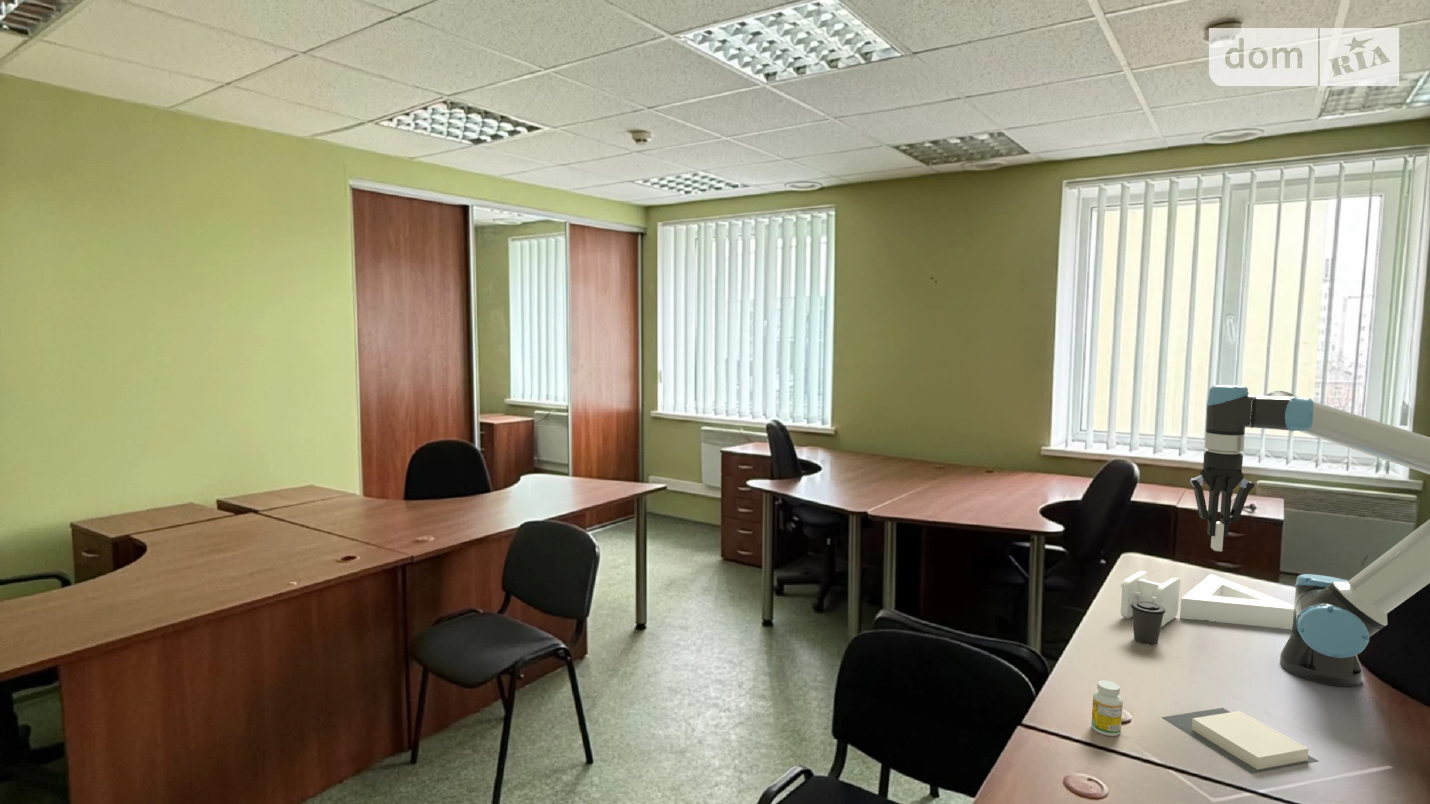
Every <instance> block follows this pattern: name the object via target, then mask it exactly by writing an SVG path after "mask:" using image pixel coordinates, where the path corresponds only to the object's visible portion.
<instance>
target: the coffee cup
mask: <svg viewBox="0 0 1430 804" xmlns="http://www.w3.org/2000/svg"><path fill="white" fill-rule="evenodd" d="M1130 606H1131V608H1132V614H1133V616H1132V625H1133V626H1132V627H1133V640H1135V642H1137V641H1138V642H1137V643H1139V642H1140V643H1139V644H1142V645H1146V644H1149V645H1148V646H1155V645H1154V644H1156V645H1158V644H1159V642H1158V641H1159V637H1160V633H1161V629H1162V627H1161V624H1162V619H1163V614H1164V613H1166V610H1165V608H1164V607H1163V606H1161V605H1158V604H1155V603H1152V602H1148V601H1135V602H1132V604H1131V605H1130Z"/></svg>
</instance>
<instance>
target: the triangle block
mask: <svg viewBox="0 0 1430 804" xmlns="http://www.w3.org/2000/svg"><path fill="white" fill-rule="evenodd" d="M1293 613H1294V604H1292V603H1289V602H1286V601H1284V600H1282V599H1278V598H1275V597H1273V596H1271V595H1268V594H1265V593H1263V592H1260V591H1258V590H1255V589H1252V588H1249V587H1247V586H1243V585H1241V584H1240V583H1236V582H1234V581H1231V580H1228V579H1226V578H1223V577H1220V576H1218V575H1215V574H1212V573H1210V574H1209V575H1207V576H1206V577H1205V578H1204V579H1203V580H1202V581H1201V582H1199V583H1198V584H1197V585H1195V586H1194V587H1193V588H1192V589H1191V590H1190V591H1188V592H1187V593H1186V594H1184V596H1182V597H1181V599H1180V612H1179V619H1184V620H1185V619H1186V620H1187V619H1188V620H1195V619H1196V621H1204V620H1209V621H1208V622H1214V621H1216V623H1225V624H1235V625H1245V626H1254V627H1263V628H1274V629H1283V630H1291V631H1292V624H1293Z"/></svg>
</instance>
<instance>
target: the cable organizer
mask: <svg viewBox="0 0 1430 804" xmlns="http://www.w3.org/2000/svg"><path fill="white" fill-rule="evenodd" d="M1149 578H1150V575H1149V572H1148V571H1144V570H1139V571H1137V572H1136V573H1134V574H1132V575H1130V576H1129V577H1126V578H1125V579H1123V581H1122V582H1121V583H1120V587H1121V600H1120V601H1121V603H1120V615H1121V617H1123V618H1126V619H1130V618H1133V614H1132V608H1131V606H1130V605H1131V604H1132V602H1135V601H1148V602H1152V603H1155V604H1158V605H1161V606H1163V607H1164V608H1165V610H1166V613H1164V614H1163V619H1162V624H1161V628H1163V626H1165V625H1166V624H1168V623H1169V622H1170V620H1171V621H1172V620H1174V619H1175V618H1176V617H1177V615H1178V613H1179V606H1180V595H1181V594H1180V591H1181V579H1180V578H1178V577H1171V578H1169V579H1168V580H1167V581H1165V582H1163V583H1159V582H1156V581H1152V580H1151V581H1150V580H1149Z"/></svg>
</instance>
